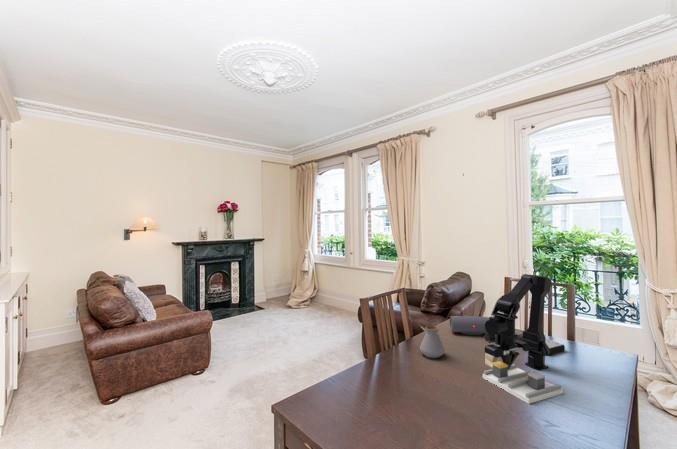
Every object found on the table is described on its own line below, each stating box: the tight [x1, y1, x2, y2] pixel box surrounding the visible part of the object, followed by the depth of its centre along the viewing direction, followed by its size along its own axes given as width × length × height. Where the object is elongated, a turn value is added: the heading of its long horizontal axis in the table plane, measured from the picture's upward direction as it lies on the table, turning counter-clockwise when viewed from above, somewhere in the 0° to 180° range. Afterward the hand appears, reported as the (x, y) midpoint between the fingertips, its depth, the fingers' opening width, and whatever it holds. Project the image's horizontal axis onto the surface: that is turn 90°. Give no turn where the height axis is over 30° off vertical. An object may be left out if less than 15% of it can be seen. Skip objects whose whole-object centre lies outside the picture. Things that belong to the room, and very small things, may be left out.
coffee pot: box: [408, 315, 446, 359], centre depth 154 cm, size 21×12×15 cm, turn 29°
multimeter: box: [515, 333, 566, 357], centre depth 159 cm, size 13×19×5 cm
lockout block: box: [484, 352, 500, 369], centre depth 138 cm, size 4×4×5 cm
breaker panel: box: [482, 363, 564, 405], centre depth 121 cm, size 18×20×3 cm
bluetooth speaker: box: [449, 315, 490, 336], centre depth 178 cm, size 23×9×10 cm, turn 81°
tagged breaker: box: [492, 360, 508, 378], centre depth 125 cm, size 4×4×5 cm
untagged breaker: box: [528, 370, 546, 390], centre depth 116 cm, size 4×4×5 cm
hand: (507, 369), depth 126 cm, fingers closed
